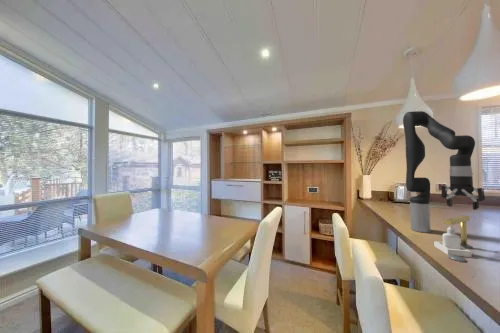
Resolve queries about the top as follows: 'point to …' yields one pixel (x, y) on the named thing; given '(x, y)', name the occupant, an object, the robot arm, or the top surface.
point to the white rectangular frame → (452, 250)
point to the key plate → (466, 246)
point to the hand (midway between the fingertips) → (462, 207)
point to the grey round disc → (457, 258)
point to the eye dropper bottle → (451, 239)
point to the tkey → (462, 221)
